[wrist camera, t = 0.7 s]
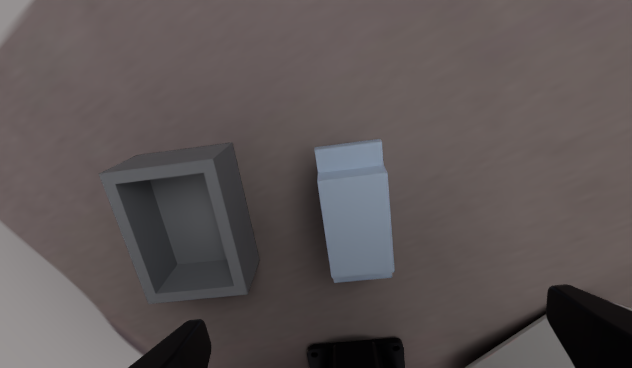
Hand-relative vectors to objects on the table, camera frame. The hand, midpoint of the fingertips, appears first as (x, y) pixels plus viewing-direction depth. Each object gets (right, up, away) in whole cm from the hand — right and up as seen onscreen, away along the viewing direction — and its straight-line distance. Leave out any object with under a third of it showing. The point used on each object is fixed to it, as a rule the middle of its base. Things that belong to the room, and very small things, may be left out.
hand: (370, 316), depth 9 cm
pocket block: (-8, +2, +11) cm, 14 cm away
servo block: (+1, +3, +11) cm, 11 cm away
